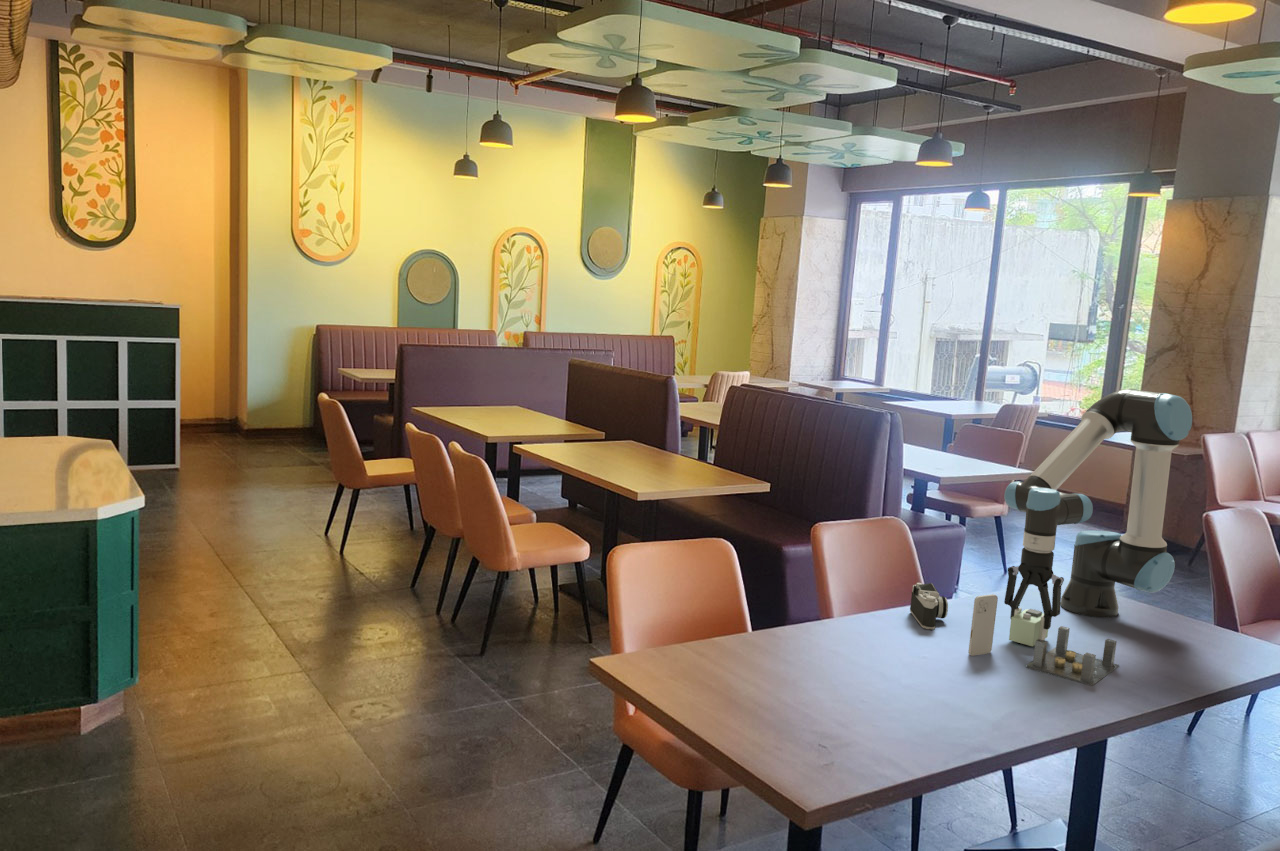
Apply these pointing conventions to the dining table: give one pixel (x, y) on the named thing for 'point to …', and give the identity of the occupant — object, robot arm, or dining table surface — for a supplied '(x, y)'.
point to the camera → (927, 605)
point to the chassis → (1073, 660)
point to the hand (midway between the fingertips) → (1028, 636)
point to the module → (1026, 627)
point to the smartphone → (983, 624)
